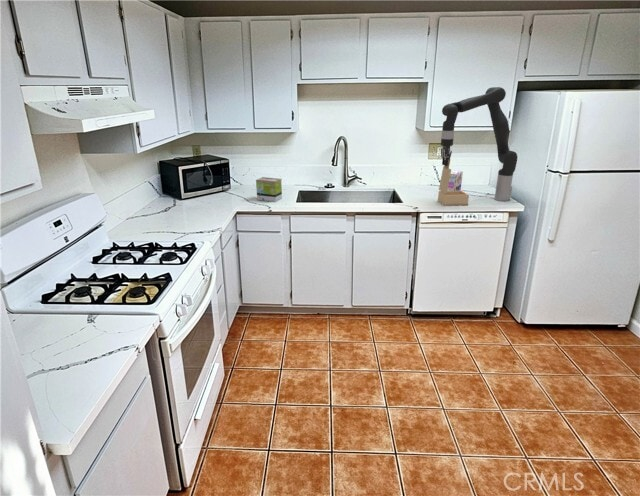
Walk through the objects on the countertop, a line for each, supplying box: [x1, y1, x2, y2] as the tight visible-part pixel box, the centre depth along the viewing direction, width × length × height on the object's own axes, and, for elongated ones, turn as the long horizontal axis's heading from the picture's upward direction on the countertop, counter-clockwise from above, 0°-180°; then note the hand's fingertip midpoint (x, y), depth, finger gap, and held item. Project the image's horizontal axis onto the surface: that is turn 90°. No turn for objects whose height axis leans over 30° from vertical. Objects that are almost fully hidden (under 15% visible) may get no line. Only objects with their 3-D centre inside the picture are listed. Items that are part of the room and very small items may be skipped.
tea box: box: [255, 176, 283, 203], centre depth 285 cm, size 15×10×15 cm
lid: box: [438, 158, 452, 194], centre depth 268 cm, size 22×12×2 cm
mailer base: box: [437, 190, 470, 207], centre depth 274 cm, size 16×12×7 cm
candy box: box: [447, 170, 464, 191], centre depth 293 cm, size 14×6×16 cm, turn 143°
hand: (444, 165), depth 265 cm, fingers closed on lid, 3 cm apart
